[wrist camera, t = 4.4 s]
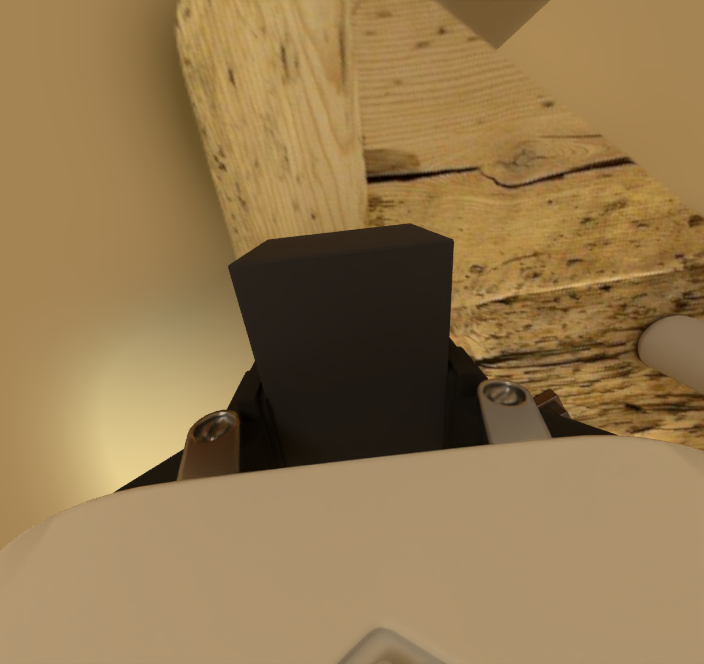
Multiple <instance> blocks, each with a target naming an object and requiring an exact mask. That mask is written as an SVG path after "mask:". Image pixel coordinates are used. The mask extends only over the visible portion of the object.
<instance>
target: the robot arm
mask: <svg viewBox="0 0 704 664" xmlns="http://www.w3.org/2000/svg"><path fill="white" fill-rule="evenodd" d="M0 664H704V451H702V450H699V449H696V448H692V447H689V446H685V445H681V444H676V443H672V442H667V441H661V440H654V439H648V438H642V437H630V436H618V435H616V434H613V433H610V432H607V431H604V430H601V429H598V428H595V427H592V426H589V425H587V424H584V423H581V422H578V421H575V420H572V419H569V418H566V417H563V416H560V415H557V414H554V413H551V412H548V411H545V410H542V409H539V408H538V407H537V405H536V403H535V401H534V399H533V397H532V395H531V394H530V392H529V391H528V390H527V389H526V388H524V387H523V386H522V385H520V384H518V383H515V382H512V381H509V380H504V379H490V380H488V378H487V377H486V376H485V375H484V373H483V372H482V371H481V370H480V369H479V367H478V366H477V365H476V364H475V363H474V361H473V360H472V359H471V358H470V356H469V355H468V354H467V353H466V352H465V350H464V349H463V348H462V347H457V346H456V345H455V344H454V342H453V341H452V340H451V339H450V337H449V354H448V374H447V386H446V407H445V428H444V449H443V450H436V451H427V452H418V453H410V454H401V455H392V456H384V457H375V458H366V459H358V460H349V461H340V462H331V463H323V464H314V465H305V466H296V467H288V468H287V467H286V464H285V460H284V457H283V453H282V450H281V446H280V443H279V439H278V436H277V432H276V429H275V425H274V422H273V418H272V415H271V412H270V408H269V405H268V401H267V398H266V396H265V393H264V389H263V386H262V383H261V379H260V376H259V372H258V369H257V365H256V362H254V364H253V366H252V368H251V370H250V371H247V372H246V373H245V375H244V377H243V379H242V381H241V383H240V385H239V387H238V389H237V390H236V392H235V394H234V396H233V398H232V400H231V402H230V404H229V406H228V408H227V410H220V411H216V412H213V413H210V414H208V415H206V416H204V417H203V418H201V419H200V420H198V421H197V422H196V423H195V424H194V425H193V426H192V427H191V428H190V430H189V432H188V435H187V439H186V443H185V447H184V449H183V450H181V451H180V452H178V453H177V454H175V455H173V456H172V457H170V458H168V459H167V460H165V461H164V462H162V463H160V464H159V465H157V466H155V467H154V468H152V469H151V470H149V471H147V472H146V473H144V474H143V475H141V476H139V477H138V478H136V479H134V480H133V481H131V482H130V483H128V484H127V485H125V486H123V487H121V488H120V489H118V490H117V491H115V492H114V493H112V494H109V495H105V496H102V497H99V498H96V499H92V500H89V501H86V502H84V503H82V504H79V505H77V506H74V507H72V508H69V509H67V510H64V511H62V512H60V513H58V514H56V515H53V516H51V517H49V518H47V519H46V520H44V521H42V522H40V523H38V524H36V525H34V526H33V527H31V528H29V529H28V530H26V531H25V532H23V533H22V534H20V535H19V536H18V537H16V538H15V539H14V540H13V541H11V542H10V543H9V544H8V545H6V546H5V547H4V548H3V549H2V550H0Z"/></svg>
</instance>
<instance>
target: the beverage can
mask: <svg viewBox="0 0 704 664" xmlns="http://www.w3.org/2000/svg"><path fill="white" fill-rule="evenodd" d="M638 353H639V356H640V359H641V361H642V362H643V363H645V364H646V365H648V366H650V367H652V368H654V369H656V370H657V371H659V372H661V373H663V374H665V375H667V376H669V377H671V378H673V379H675V380H677V381H679V382H681V383H683V384H685V385H686V386H688V387H690V388H692V389H694V390H696V391H698V392H700V393H702V394H704V321H701V320H698V319H695V318H691V317H688V316H683V315H676V316H670V317H665V318H663V319H660V320H658V321H656V322H655V323H653V324H651V325H650V326H649V327H648V328H647V329H646V330H645V331H644V332H643V333H642V335H641V337H640V339H639V342H638Z"/></svg>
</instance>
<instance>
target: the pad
mask: <svg viewBox="0 0 704 664" xmlns="http://www.w3.org/2000/svg"><path fill="white" fill-rule="evenodd" d="M453 250H454V241H453V239H450V238H447V237H445V236H442V235H440V234H437V233H434V232H432V231H429V230H426V229H424V228H421V227H419V226H416V225H413V224H411V223H409V224H400V225H391V226H383V227H374V228H365V229H357V230H348V231H339V232H330V233H322V234H313V235H304V236H295V237H287V238H278V239H269V240H267V241H265V242H264V243H262V244H260V245H259V246H257V247H256V248H254V249H253V250H251V251H250V252H248V253H247V254H245V255H244V256H242V257H241V258H239V259H238V260H236V261H234V262H233V263H231V264H230V265H229V267H228V268H229V272H230V275H231V279H232V282H233V286H234V289H235V293H236V296H237V299H238V303H239V307H240V310H241V313H242V317H243V320H244V324H245V327H246V331H247V334H248V337H249V341H250V344H251V348H252V351H253V355H254V358H255V362H256V365H257V369H258V372H259V376H260V379H261V383H262V386H263V389H264V393H265V396H266V398H267V401H268V405H269V408H270V412H271V415H272V418H273V422H274V425H275V429H276V432H277V436H278V439H279V443H280V446H281V450H282V453H283V457H284V460H285V464H286V467H287V468H288V467H296V466H305V465H314V464H323V463H331V462H340V461H349V460H358V459H366V458H375V457H384V456H392V455H401V454H410V453H418V452H427V451H436V450H443V449H444V428H445V407H446V386H447V374H448V354H449V333H450V312H451V292H452V271H453Z"/></svg>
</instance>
